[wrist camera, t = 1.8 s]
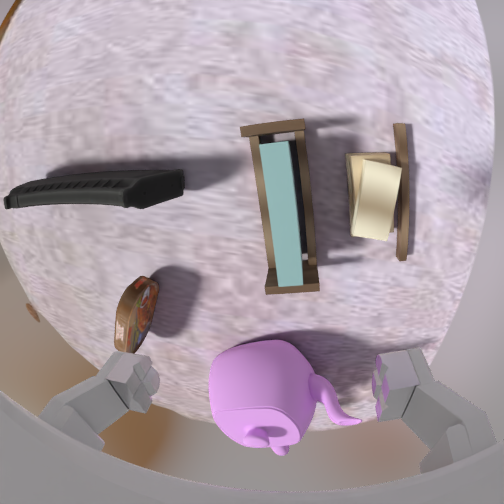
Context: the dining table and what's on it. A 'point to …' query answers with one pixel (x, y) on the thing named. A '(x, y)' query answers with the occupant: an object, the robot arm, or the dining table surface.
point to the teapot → (269, 395)
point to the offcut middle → (356, 172)
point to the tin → (135, 314)
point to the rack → (311, 264)
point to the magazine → (101, 189)
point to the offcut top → (376, 200)
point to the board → (283, 212)
